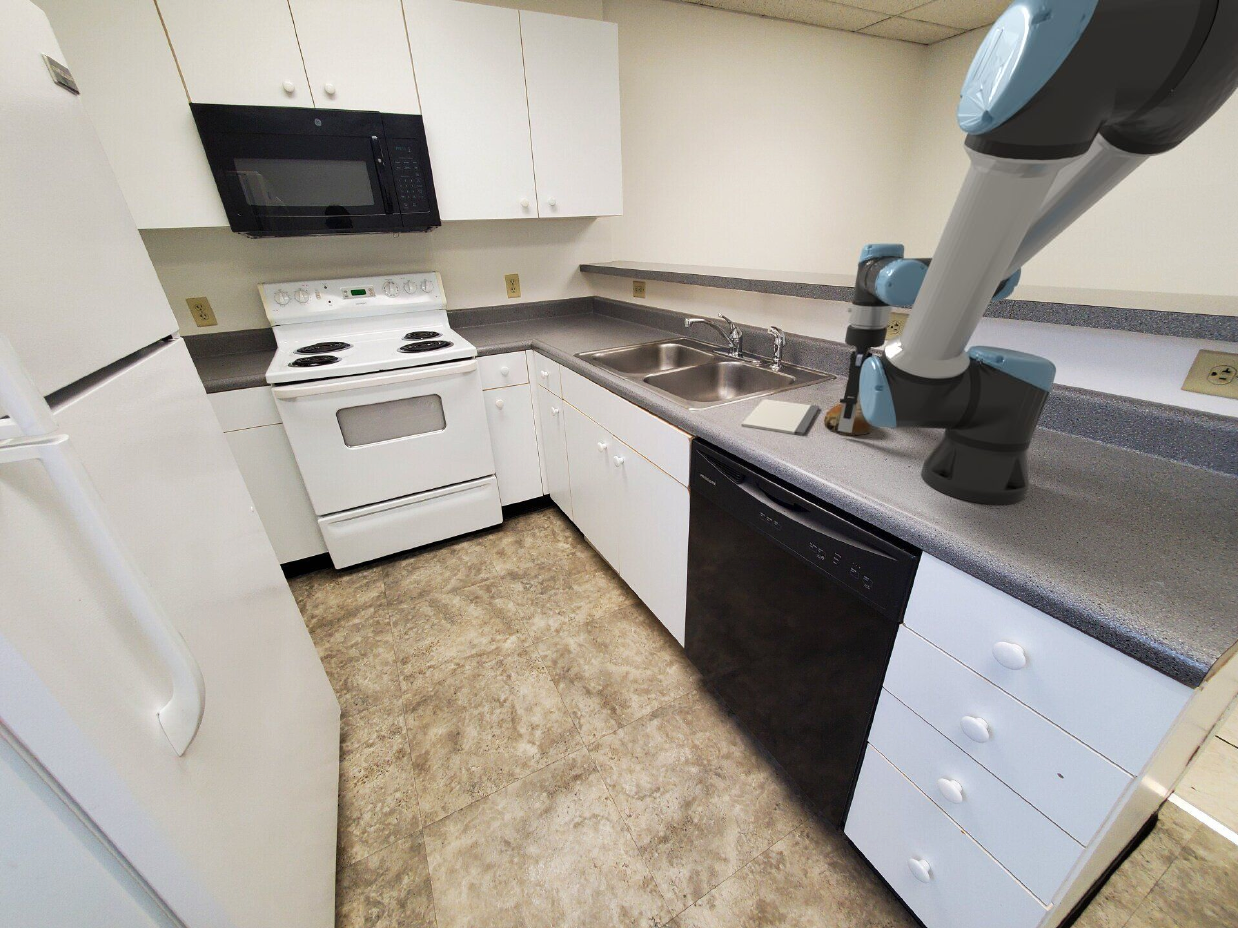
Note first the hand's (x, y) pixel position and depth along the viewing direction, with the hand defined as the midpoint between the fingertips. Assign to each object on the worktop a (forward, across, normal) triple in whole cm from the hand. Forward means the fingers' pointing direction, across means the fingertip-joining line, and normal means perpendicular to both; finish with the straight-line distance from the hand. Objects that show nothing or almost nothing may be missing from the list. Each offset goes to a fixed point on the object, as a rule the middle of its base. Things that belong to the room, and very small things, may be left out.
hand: (848, 420), depth 108 cm
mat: (+2, -1, -15) cm, 15 cm away
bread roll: (+2, +1, 0) cm, 2 cm away
